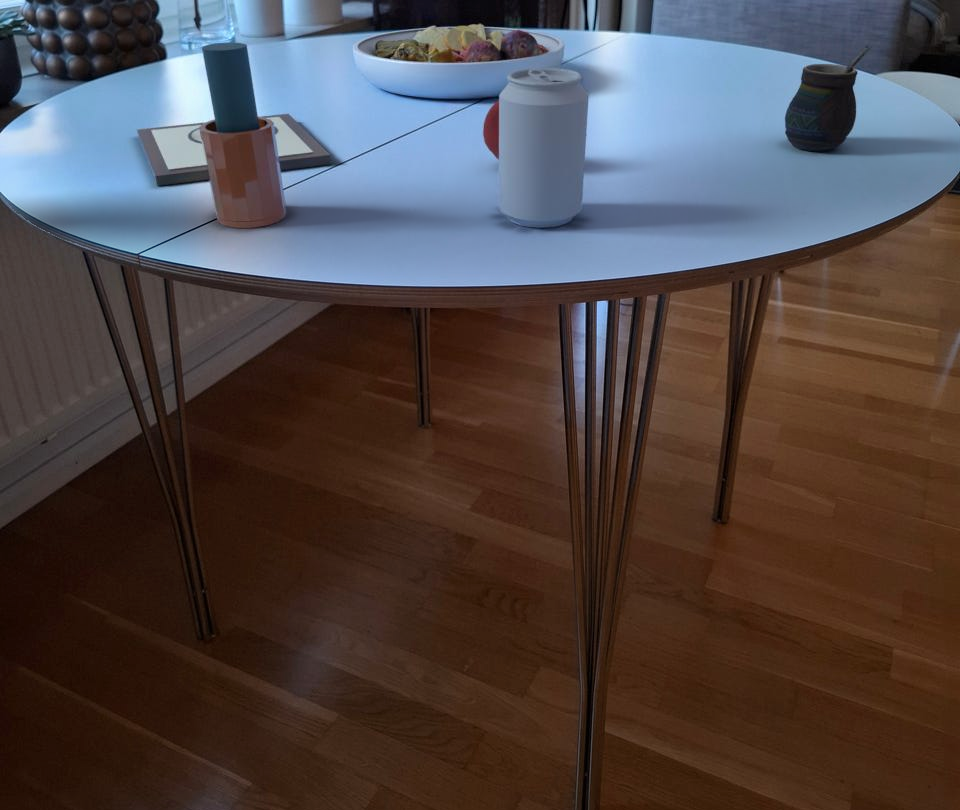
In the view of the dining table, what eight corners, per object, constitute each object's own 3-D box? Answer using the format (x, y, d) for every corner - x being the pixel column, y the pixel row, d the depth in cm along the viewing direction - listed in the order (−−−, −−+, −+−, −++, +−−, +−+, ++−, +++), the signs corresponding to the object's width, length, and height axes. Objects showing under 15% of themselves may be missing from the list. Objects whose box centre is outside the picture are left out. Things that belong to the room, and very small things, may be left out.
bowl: (314, 82, 125) (307, 21, 120) (461, 54, 142) (460, -1, 138) (456, 116, 108) (455, 47, 103) (605, 79, 125) (609, 18, 120)
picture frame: (157, 186, 86) (154, 173, 86) (138, 138, 101) (136, 127, 100) (331, 164, 92) (330, 152, 91) (289, 122, 107) (288, 111, 106)
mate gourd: (766, 141, 97) (783, 44, 91) (820, 135, 99) (841, 39, 94) (807, 158, 92) (828, 55, 86) (864, 150, 94) (889, 50, 88)
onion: (549, 167, 90) (552, 84, 86) (511, 179, 87) (512, 94, 82) (510, 156, 94) (511, 76, 89) (472, 167, 90) (471, 85, 86)
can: (530, 237, 74) (535, 86, 67) (482, 213, 79) (481, 70, 72) (598, 220, 77) (608, 74, 70) (547, 198, 82) (553, 60, 75)
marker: (235, 218, 77) (205, 51, 69) (228, 206, 79) (198, 44, 71) (275, 213, 78) (250, 48, 70) (267, 201, 80) (242, 41, 72)
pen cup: (223, 232, 75) (205, 137, 71) (212, 210, 80) (194, 120, 75) (293, 222, 77) (279, 129, 73) (278, 201, 82) (265, 113, 77)
